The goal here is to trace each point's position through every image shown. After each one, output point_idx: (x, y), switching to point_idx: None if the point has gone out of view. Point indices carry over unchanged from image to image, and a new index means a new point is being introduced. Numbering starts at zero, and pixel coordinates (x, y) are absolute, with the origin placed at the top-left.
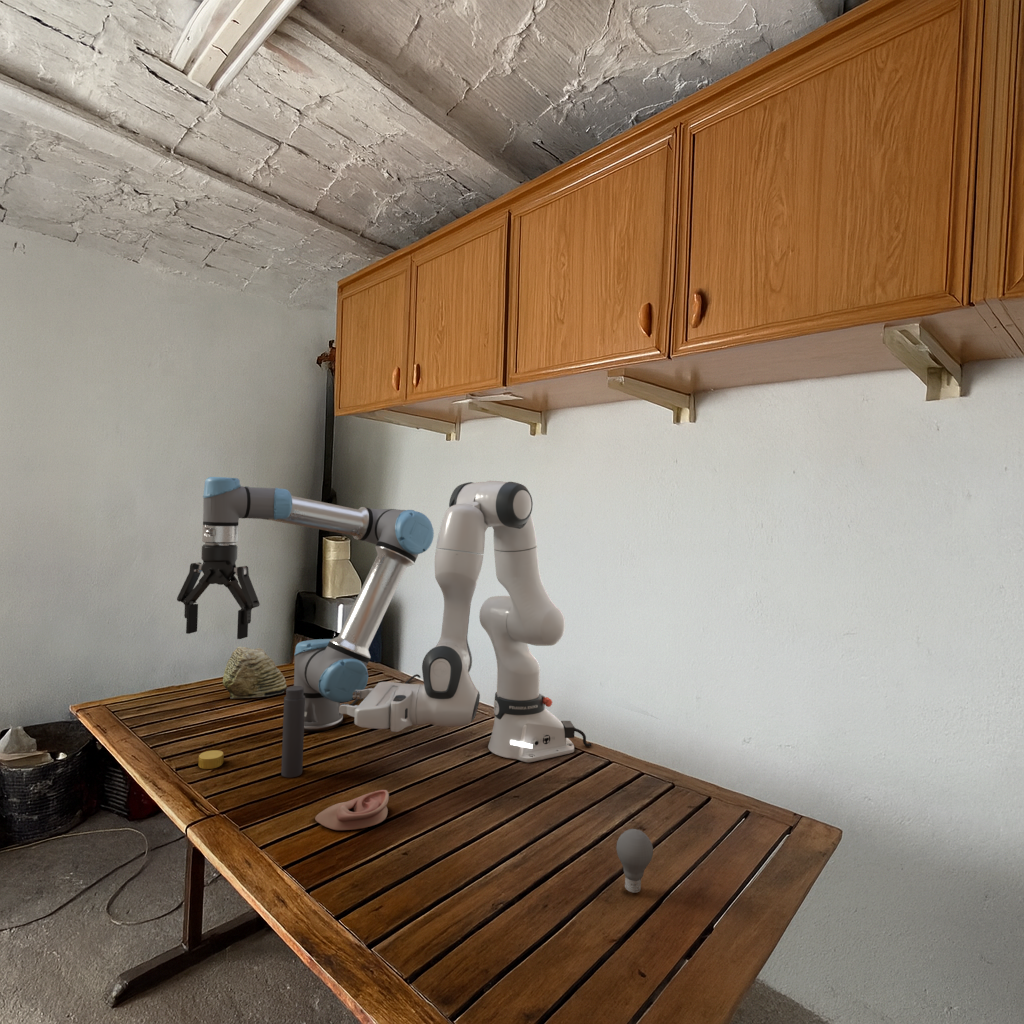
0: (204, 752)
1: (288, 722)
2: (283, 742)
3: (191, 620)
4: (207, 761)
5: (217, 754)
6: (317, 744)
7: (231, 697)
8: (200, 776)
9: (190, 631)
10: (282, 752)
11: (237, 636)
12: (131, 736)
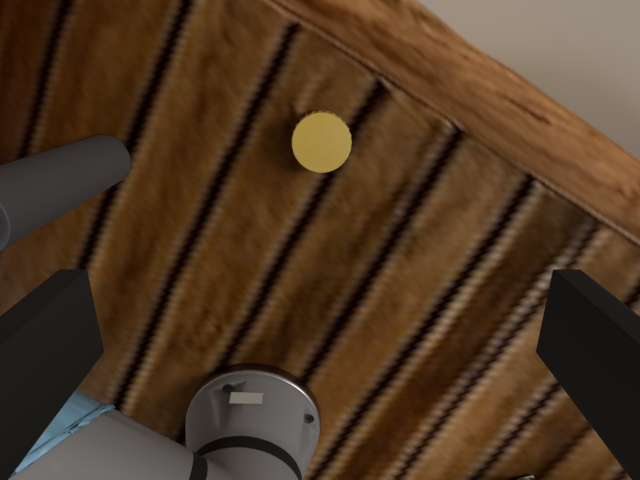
0: (347, 149)
1: (13, 162)
2: (72, 153)
3: (612, 356)
4: (310, 114)
5: (306, 149)
6: (166, 317)
7: (530, 478)
8: (297, 69)
9: (557, 294)
10: (92, 151)
11: (74, 278)
12: (626, 219)
